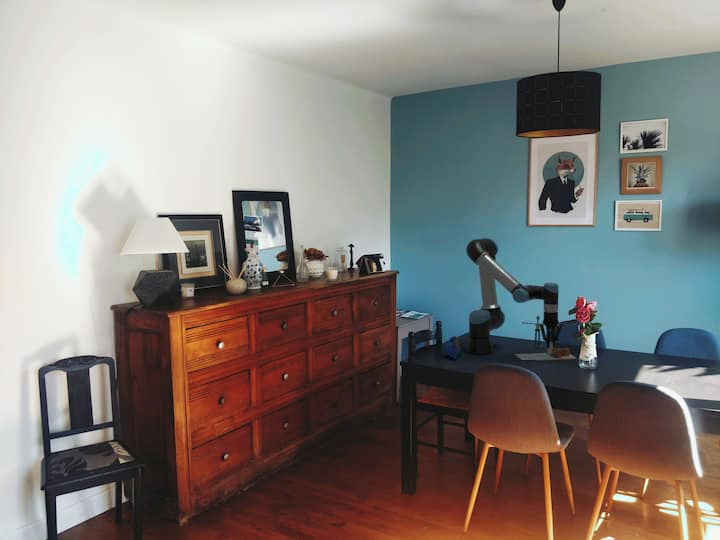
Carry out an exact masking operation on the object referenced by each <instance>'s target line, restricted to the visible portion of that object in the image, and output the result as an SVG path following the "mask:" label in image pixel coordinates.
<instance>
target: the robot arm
mask: <svg viewBox="0 0 720 540" xmlns="http://www.w3.org/2000/svg"><path fill="white" fill-rule="evenodd" d="M465 251H466V255H467V256H468V258H469V259H470V260H471V261H472V262H473V263H474V264H475V265H476V266H478V273H479V280H480V294H481V302H482V305H481V306H480V309H475V310H472V311H471V312H470V313H469V315H468V316H469V317H468V335H469V336H468V341H467V345H466V347H465V350H466V351H467V353H468V352H470V353H469V354H471V353H474V354H473V355H478V354H484V355H490V354H493V353H494V347H493V345H492V342H491V337H490V336H491V331H494V330H498V329H499V328H501V327H502V326H503V325H504V323H505V322H506V316H505V315H506V314H505V313H504V311H503V310H502V308H501V305H500V304H498V303H499V302H498V296H497V285H496V282H498V283H499V284H500V285H501V286H502V287H503V288H504V289H505V290H506V291H508V292H509V293H510V294H511V296H512V299H513V301H514V302H515V303H518V304H522V303H526V302H529V301H533V300H542V301H543V319H542V322H541V323H538V324H539V329H540V334H541V336H542V337H541V338H542V341H544V342H546V348H547V353H549V354H552V349H553V348H554V347H555V343H556V342H557V341H559V336H560V333H561V329H562V327H563V325H564V324H563V323H561V322H559V312H558V311H559V294H560V292H559V284H558V283H556V282H545V283H544V285H532V284H524V285H523V284H522V283H521V282H520V281H519V280H517V278H515V277H514V276H513V275H512V274H510V272H508V271H507V270H506V269H505V268H504V267H503V266H502V265H500V264H499V263H498V262H497V261H496V260H497V259H496V258H497V257H496V256H497V254H498V252H499V246H498V244H497V242H496V241H495V240H494V239H493V238H490V237H489V238H488V237H487V238H485V237H483V238H477V239H472V240H471V241H469V242H468V243H467V246H466V250H465ZM466 351H465V352H466ZM489 353H490V354H489Z"/></svg>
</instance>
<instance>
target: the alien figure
mask: <svg viewBox="0 0 720 540" xmlns="http://www.w3.org/2000/svg"><path fill="white" fill-rule="evenodd" d="M535 318H536V322H527V321H523V322H521V324H522V325H524V324H525V325H535V328H534V332H535V333H534V344H533V346H534V349H537V347H538V349H541V347H544V345H543V343H541V328H540V327H539V324H540V323H539V321H540V320H541V317H540V315H536V316H535ZM537 336H538V337H537ZM537 342H538V343H537Z"/></svg>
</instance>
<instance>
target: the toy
mask: <svg viewBox="0 0 720 540" xmlns="http://www.w3.org/2000/svg"><path fill="white" fill-rule="evenodd" d="M461 344H462V343H461V341H460V340H458V336H456V335H453V336H451V337H450V338H449V340H445V341H444V343H443V351H444V354H445V355H446V354H447V355H449V356H448V357H451V358H452V359H453V360H454V359H456V360H457V357H458V356H459V355H458V354H460V352H461V351H462V349H461ZM447 355H446V356H447Z"/></svg>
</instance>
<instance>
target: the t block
mask: <svg viewBox="0 0 720 540" xmlns="http://www.w3.org/2000/svg"><path fill="white" fill-rule="evenodd" d="M570 351H571V350H570V349H569V348H566V347H564V348H563V347H562V348H561V347H560V348H556V347H555V346H554V348H553V349H552V354H549V353H548V352H547V353H548V354H549V355H551V356H552V357H554V358H561V356H569V355H570V354H571V352H570Z"/></svg>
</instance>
